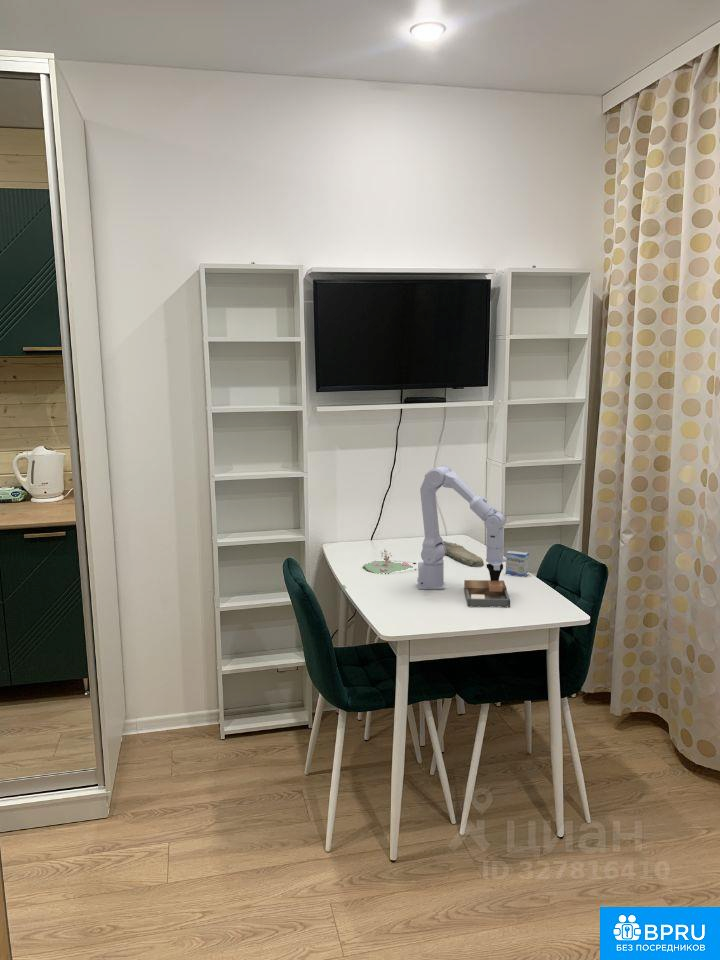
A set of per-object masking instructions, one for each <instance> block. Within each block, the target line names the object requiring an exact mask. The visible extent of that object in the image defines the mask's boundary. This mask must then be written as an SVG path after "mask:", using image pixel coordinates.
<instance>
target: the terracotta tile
mask: <svg viewBox="0 0 720 960" xmlns="http://www.w3.org/2000/svg"><path fill="white" fill-rule="evenodd" d="M488 588H489V591H495V592H502V591H503V586H502V582H501V581H488Z"/></svg>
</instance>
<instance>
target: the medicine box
mask: <svg viewBox="0 0 720 960" xmlns="http://www.w3.org/2000/svg"><path fill="white" fill-rule="evenodd" d="M505 558H506V559H507V562H505V575H506V574H511V575H510V576H514V575H518V576H517V577H522V576H526V575H527V576H528V575H529V574H527V573H529V572H530V571H529V570H530V569H529V567H530V552H526V551H525V552H523V551H518V550H516V551H515V550H508V551H507V552H506V553H505ZM527 576H526V577H527Z"/></svg>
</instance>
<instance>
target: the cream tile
mask: <svg viewBox="0 0 720 960" xmlns="http://www.w3.org/2000/svg"><path fill="white" fill-rule="evenodd" d="M471 599H485V595H481V594H471Z"/></svg>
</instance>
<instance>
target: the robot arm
mask: <svg viewBox="0 0 720 960" xmlns="http://www.w3.org/2000/svg"><path fill="white" fill-rule="evenodd" d="M441 487H442V488H449V489H453V490H454V491H455V492H456V493H458V494H459V496H461V497H462V498H463V499H464V500H466V501H467V502H468V503H469V509H470V510H471V511H472V512H473V513H474V515H475V514H476V516H477V517H479V519H480V520H481V521H482V522H484V523H483V524H484V527H485V528H486V558H485V561H486V563H487V564H486V568H487V570H488V572H489V580H491V581H499V580H500V577H501V573H502V571H503V569H504V564H503V563H504V562H505V563H506V562H507V559H506V557H505V558H504V538H505V537H504V526H505V524H506V520H507V519H506V516H505V514H504V513H503V512H502V511H500V510H498V509H497V508H496V507H495V508H494V507H493V506H492V505H491V504H490V503H489V502H488V499H487V498H486V497H483V496H481V495H479V496H477V495H476V494H475V493H474V492H473V491H472V490H471V488H469V486H468V485H466V484H465V483H464V481H463V480H462V479H461V478H460V477H459V476H458V474H457V473H456V472H455V471H454V470H453V469H452V468H451V467H450V466H447V465H440V466H438V467H435V468H432V469H430V470H429V471H427V472H426V473H425V474H424V479H423V481H422V484H421V486H420V490H419V492H420V502H421V511H422V522H423V530H424V539H423V541H422V549H421V552H420V558H421V560H422V561H421V562H418V569H417V571H418V574H417V575H418V577H417V583H418V585H417V587H418V590H445V589H446V584H445V581H444V579H445V576H444V572H445V571H444V568H445V567H444V566H445V564H444V557H446V555H445V554H446V548H445V546H444V544H443V541H444V540H443V538H442V536H441V535H440V525H439V516H438V506H437V495H436V493H437V491H438V490H439V489H440V488H441Z"/></svg>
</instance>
